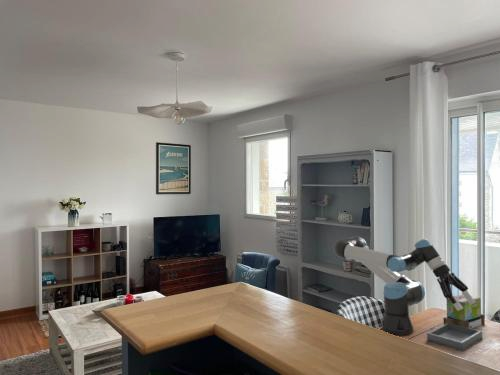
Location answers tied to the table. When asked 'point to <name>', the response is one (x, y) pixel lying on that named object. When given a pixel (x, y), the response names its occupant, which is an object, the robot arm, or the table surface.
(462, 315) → the tea box
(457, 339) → the charcoal tray
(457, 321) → the walnut holder
